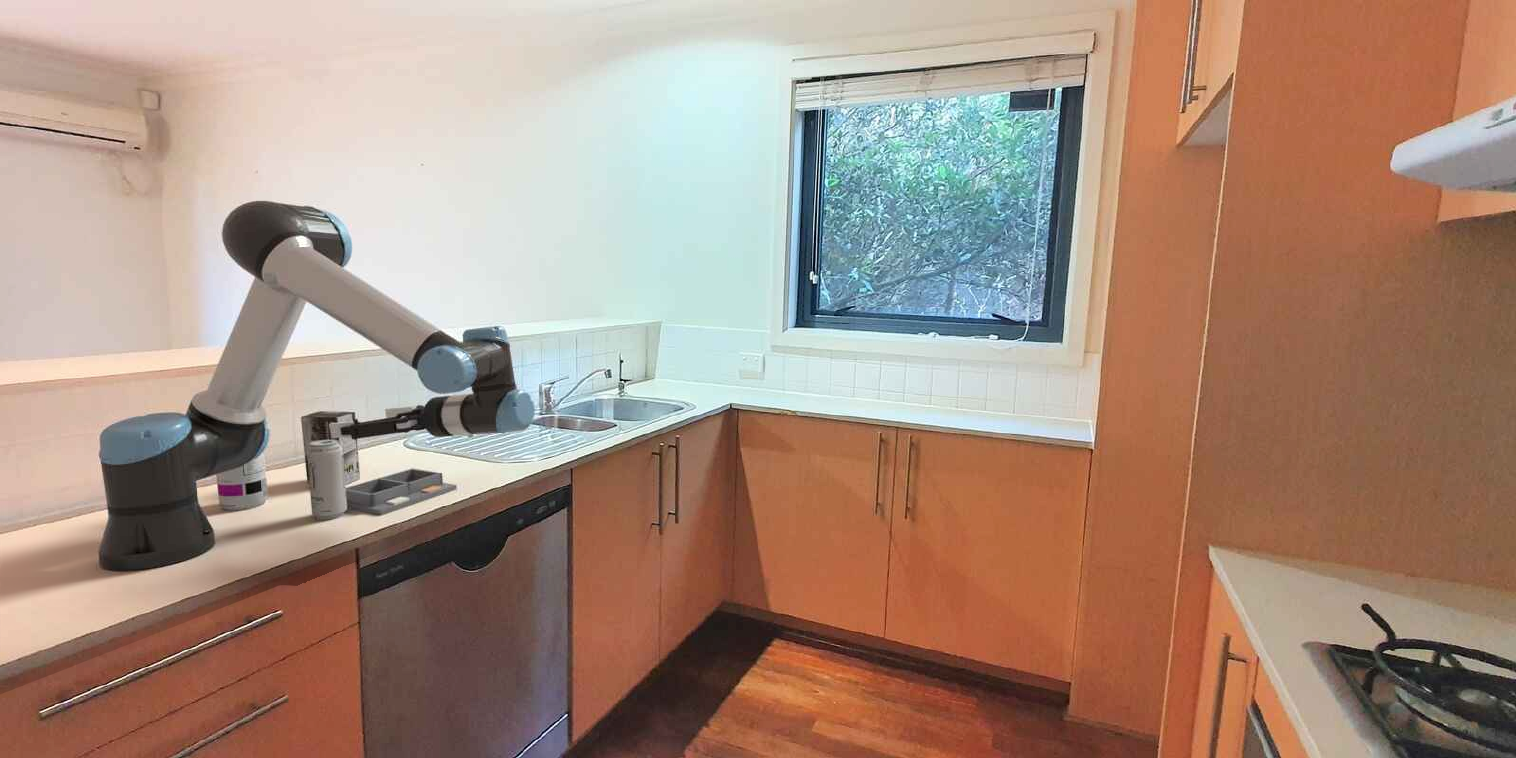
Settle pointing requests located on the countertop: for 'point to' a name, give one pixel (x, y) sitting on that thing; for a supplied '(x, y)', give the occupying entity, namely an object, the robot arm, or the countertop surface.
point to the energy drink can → (326, 479)
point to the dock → (396, 491)
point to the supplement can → (243, 486)
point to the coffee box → (319, 429)
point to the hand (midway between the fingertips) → (360, 422)
